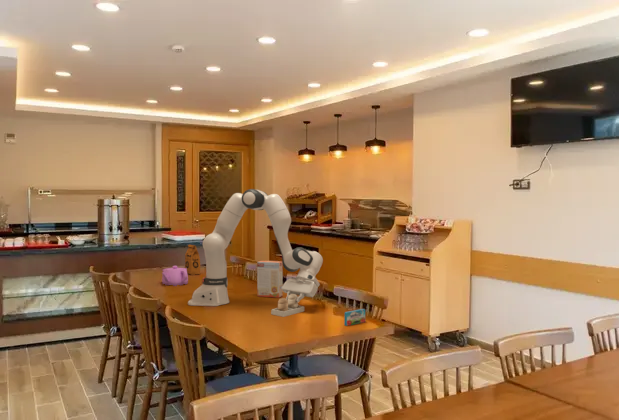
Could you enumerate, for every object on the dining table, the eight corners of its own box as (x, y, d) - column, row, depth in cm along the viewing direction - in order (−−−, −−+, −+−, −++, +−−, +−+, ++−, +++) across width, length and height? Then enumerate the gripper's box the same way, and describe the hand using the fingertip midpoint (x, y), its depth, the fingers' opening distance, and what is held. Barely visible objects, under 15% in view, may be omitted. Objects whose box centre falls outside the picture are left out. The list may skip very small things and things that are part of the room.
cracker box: (282, 296, 301) (283, 261, 301) (279, 298, 296) (279, 262, 295) (261, 294, 306) (261, 260, 305) (257, 296, 300) (257, 261, 300)
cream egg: (288, 310, 257) (288, 294, 257) (287, 308, 262) (287, 292, 262) (298, 310, 258) (298, 294, 257) (297, 308, 263) (297, 292, 262)
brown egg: (278, 315, 251) (278, 299, 251) (277, 313, 256) (277, 297, 256) (288, 315, 252) (288, 299, 252) (287, 312, 257) (287, 297, 256)
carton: (283, 318, 248) (283, 311, 248) (271, 315, 253) (271, 309, 253) (304, 312, 260) (304, 306, 260) (292, 310, 266) (292, 304, 266)
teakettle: (188, 285, 335) (188, 267, 335) (161, 286, 331) (161, 267, 331) (188, 281, 352) (187, 263, 351) (162, 282, 348) (162, 264, 347)
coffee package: (189, 275, 377) (189, 246, 376) (183, 273, 387) (183, 244, 386) (202, 274, 382) (202, 245, 382) (196, 272, 393) (195, 243, 392)
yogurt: (346, 326, 234) (346, 312, 234) (344, 325, 235) (344, 312, 235) (365, 322, 241) (365, 309, 241) (363, 321, 242) (363, 308, 242)
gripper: (286, 273, 271) (274, 294, 264) (317, 277, 258) (304, 299, 251) (292, 280, 275) (280, 301, 268) (322, 284, 262) (310, 307, 255)
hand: (292, 300), depth 259 cm, fingers closed on cream egg, 5 cm apart
